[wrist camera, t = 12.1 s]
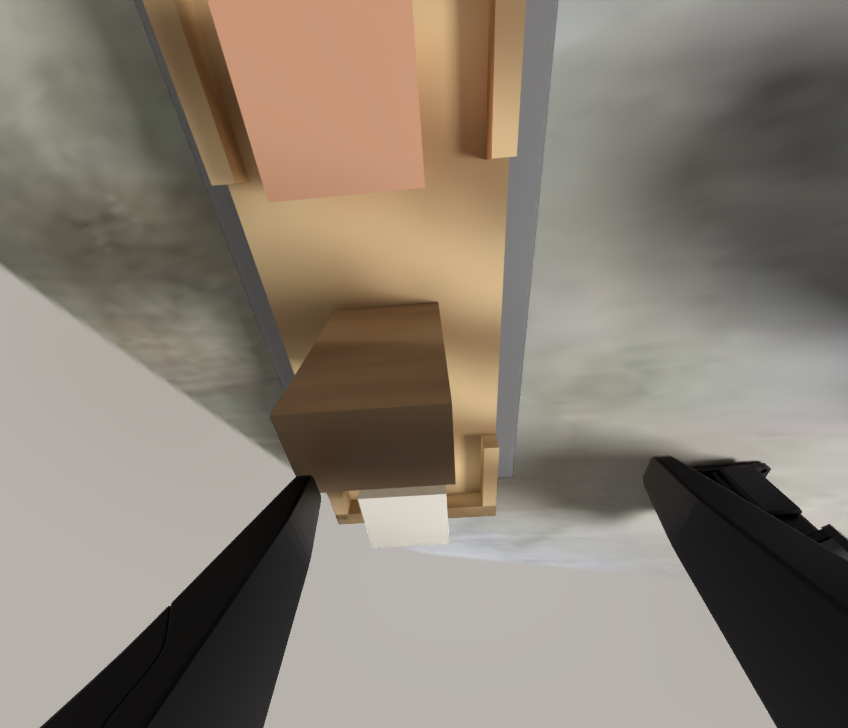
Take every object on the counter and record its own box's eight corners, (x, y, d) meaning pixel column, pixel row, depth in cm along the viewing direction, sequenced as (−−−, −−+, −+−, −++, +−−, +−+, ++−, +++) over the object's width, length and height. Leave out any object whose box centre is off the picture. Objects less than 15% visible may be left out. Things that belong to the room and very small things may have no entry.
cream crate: (444, 479, 20) (449, 543, 16) (380, 482, 20) (372, 548, 16) (441, 431, 17) (446, 493, 14) (369, 435, 18) (357, 499, 14)
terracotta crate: (423, 183, 11) (425, 187, 8) (314, 193, 11) (268, 202, 8) (412, 26, 9) (407, -61, 6) (278, 41, 9) (197, -35, 6)
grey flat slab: (502, 446, 25) (512, 476, 23) (331, 456, 26) (321, 488, 23) (537, -48, 12) (569, -108, 9) (177, -6, 12) (114, -53, 10)
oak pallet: (486, 474, 23) (521, 634, 15) (348, 482, 23) (311, 643, 15) (503, -73, 10) (859, -1124, 2) (187, -34, 10) (-658, -783, 2)
